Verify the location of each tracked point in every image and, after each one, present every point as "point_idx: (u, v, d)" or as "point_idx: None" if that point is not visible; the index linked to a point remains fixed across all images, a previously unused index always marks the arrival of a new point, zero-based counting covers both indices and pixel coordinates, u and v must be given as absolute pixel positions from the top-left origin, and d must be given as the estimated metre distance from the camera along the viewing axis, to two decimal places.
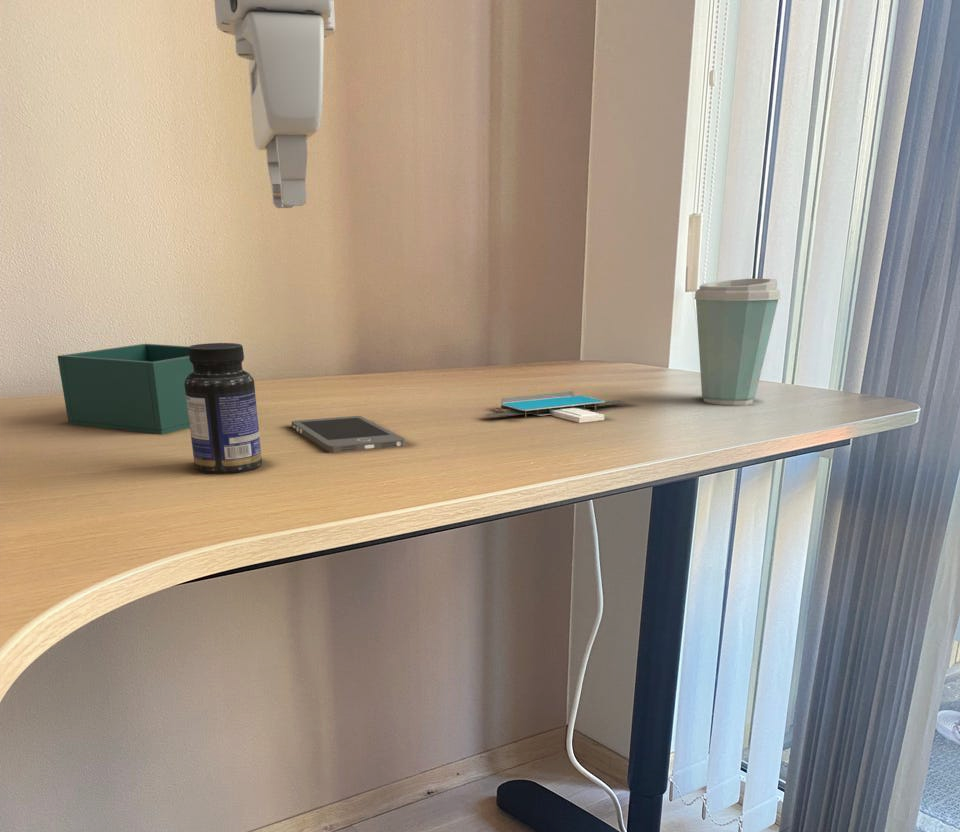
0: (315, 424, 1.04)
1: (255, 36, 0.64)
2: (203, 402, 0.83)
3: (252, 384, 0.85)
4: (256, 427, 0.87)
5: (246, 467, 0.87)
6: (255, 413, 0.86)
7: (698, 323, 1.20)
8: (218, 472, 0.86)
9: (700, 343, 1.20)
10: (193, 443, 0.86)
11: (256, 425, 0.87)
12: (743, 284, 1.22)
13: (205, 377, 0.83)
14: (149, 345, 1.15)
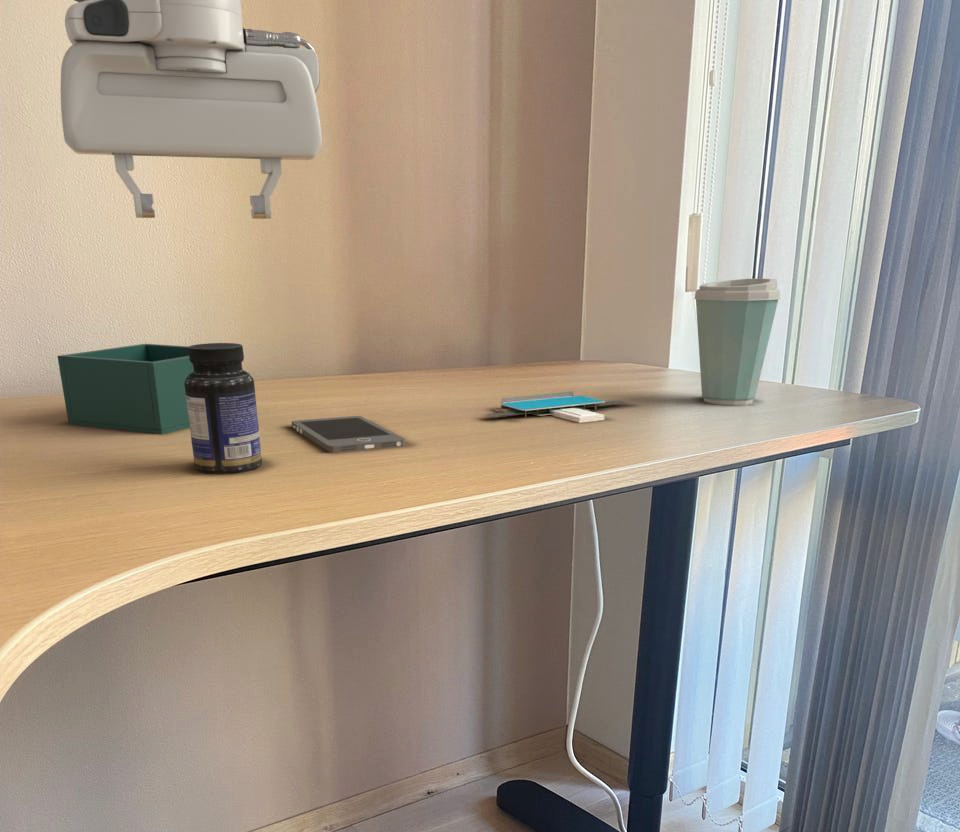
0: (315, 424, 1.04)
1: None
2: (203, 402, 0.83)
3: (252, 384, 0.85)
4: (256, 427, 0.87)
5: (246, 467, 0.87)
6: (255, 413, 0.86)
7: (698, 323, 1.20)
8: (218, 472, 0.86)
9: (700, 343, 1.20)
10: (193, 443, 0.86)
11: (256, 425, 0.87)
12: (743, 284, 1.22)
13: (205, 377, 0.83)
14: (149, 345, 1.15)
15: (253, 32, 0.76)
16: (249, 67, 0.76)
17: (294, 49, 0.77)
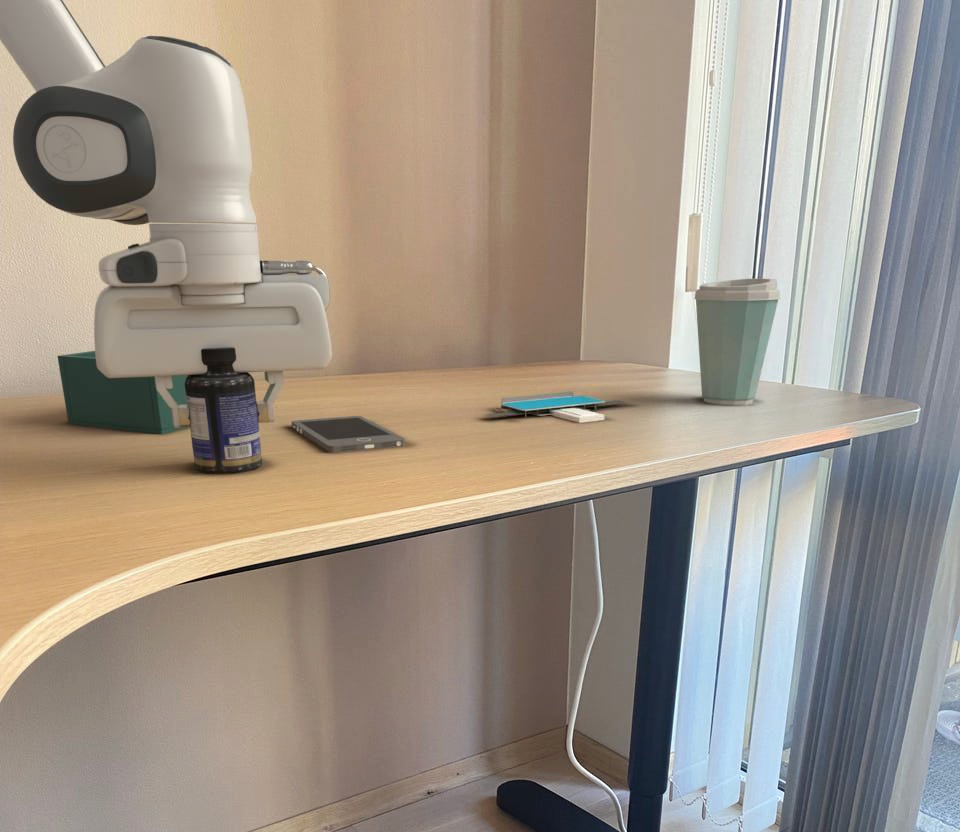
0: (315, 424, 1.04)
1: None
2: (203, 402, 0.83)
3: (252, 384, 0.85)
4: (256, 427, 0.87)
5: (247, 467, 0.87)
6: (255, 413, 0.86)
7: (698, 323, 1.20)
8: (218, 472, 0.86)
9: (700, 343, 1.20)
10: (194, 443, 0.86)
11: (256, 425, 0.87)
12: (743, 284, 1.22)
13: (206, 377, 0.83)
14: None
15: (269, 264, 0.83)
16: (266, 297, 0.83)
17: (306, 275, 0.84)
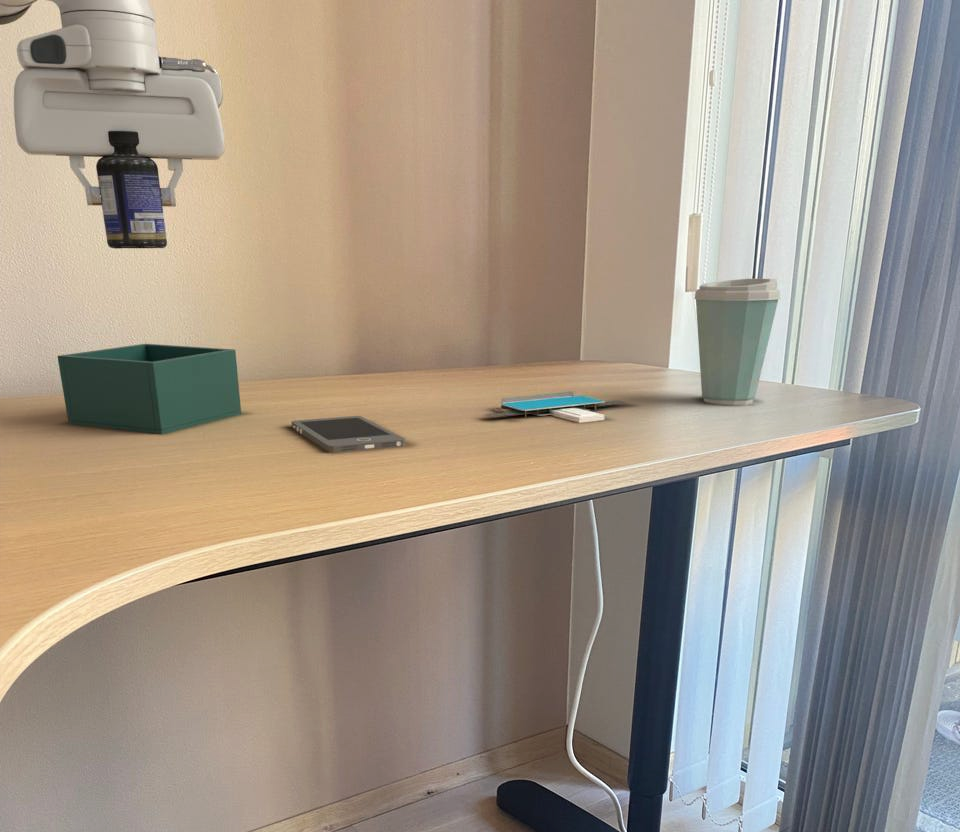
0: (315, 424, 1.04)
1: None
2: (111, 178, 0.97)
3: (155, 168, 0.99)
4: (159, 208, 1.01)
5: (151, 242, 1.00)
6: (158, 195, 1.00)
7: (698, 323, 1.20)
8: (126, 245, 1.00)
9: (700, 343, 1.20)
10: (105, 220, 1.00)
11: (160, 206, 1.01)
12: (743, 284, 1.22)
13: (112, 157, 0.97)
14: (149, 345, 1.15)
15: (167, 59, 0.97)
16: (163, 87, 0.96)
17: (201, 72, 0.98)
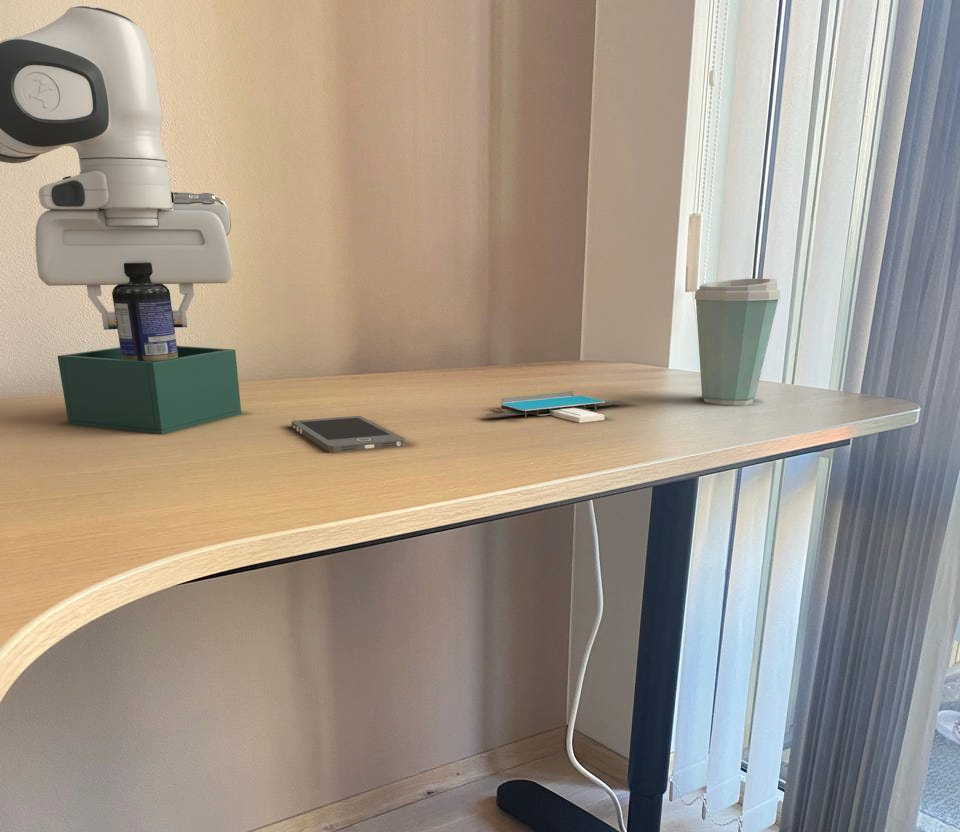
0: (315, 424, 1.04)
1: None
2: (126, 306, 1.03)
3: (167, 294, 1.05)
4: (172, 330, 1.07)
5: None
6: (171, 318, 1.06)
7: (698, 323, 1.20)
8: None
9: (700, 343, 1.20)
10: (120, 343, 1.06)
11: (172, 328, 1.07)
12: (743, 284, 1.22)
13: (128, 287, 1.03)
14: None
15: (179, 195, 1.03)
16: (175, 221, 1.02)
17: (210, 205, 1.04)
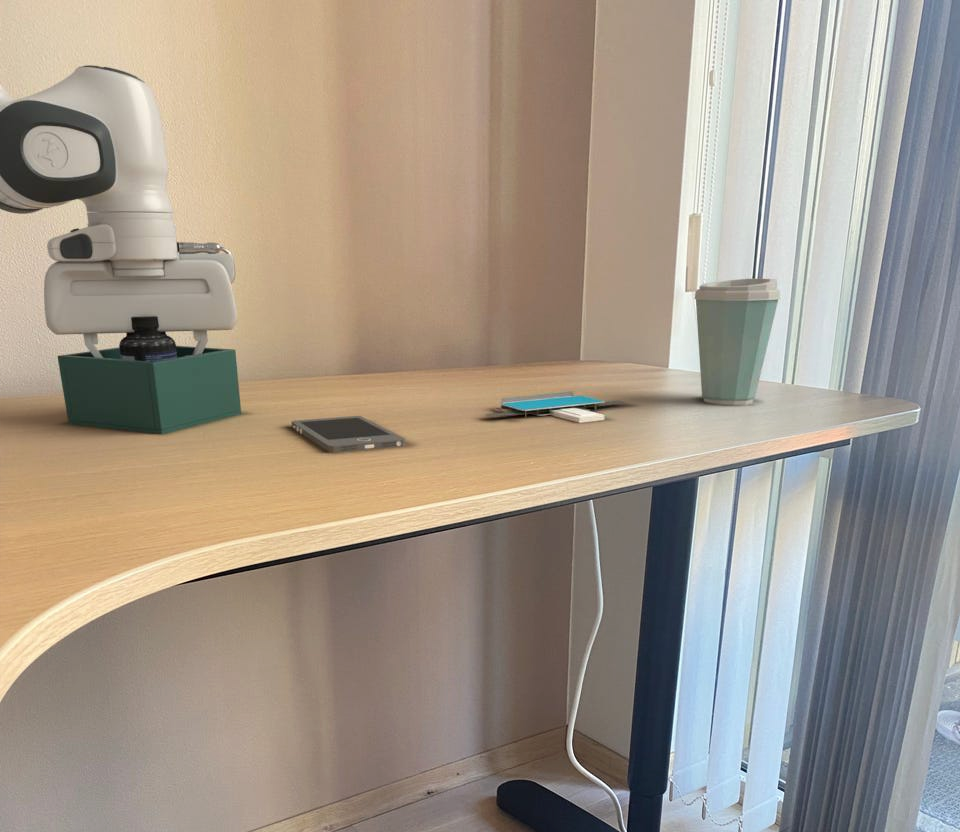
0: (315, 424, 1.04)
1: None
2: (133, 359, 1.05)
3: (173, 346, 1.07)
4: None
5: None
6: None
7: (698, 323, 1.20)
8: None
9: (700, 343, 1.20)
10: None
11: None
12: (743, 284, 1.22)
13: (135, 340, 1.05)
14: None
15: (184, 245, 1.05)
16: (181, 271, 1.04)
17: (215, 254, 1.06)
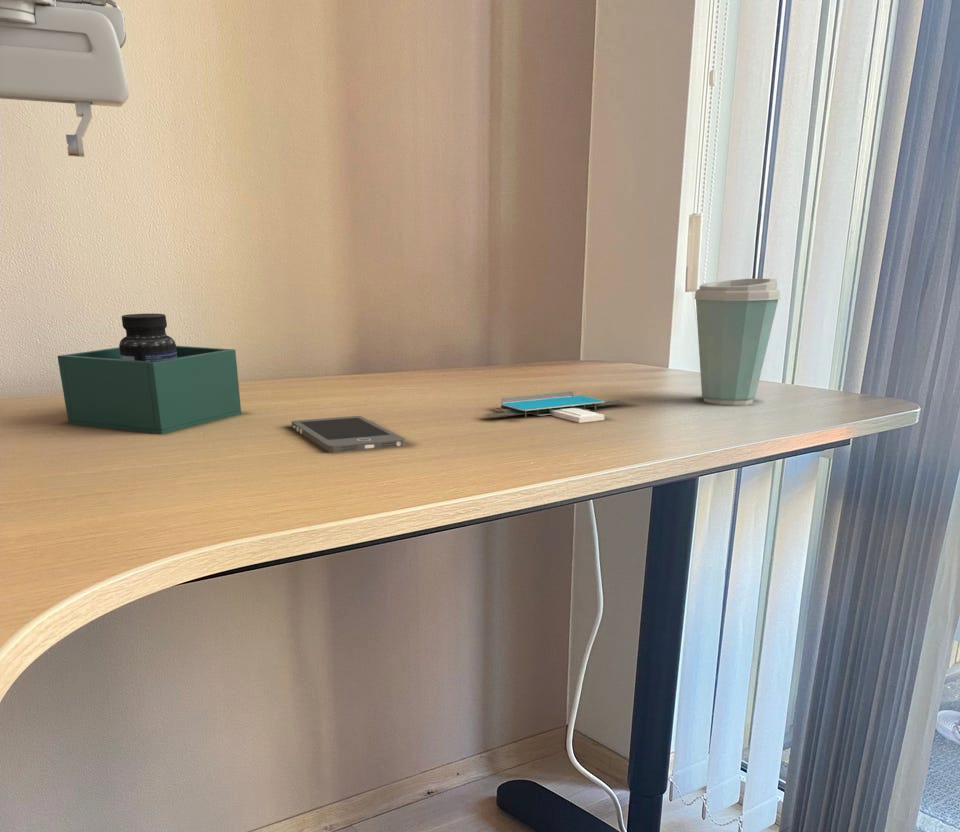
0: (315, 424, 1.04)
1: None
2: (133, 359, 1.05)
3: (173, 346, 1.07)
4: None
5: None
6: None
7: (698, 323, 1.20)
8: None
9: (700, 343, 1.20)
10: None
11: None
12: (743, 284, 1.22)
13: (135, 340, 1.05)
14: None
15: None
16: (56, 20, 0.87)
17: (100, 6, 0.89)
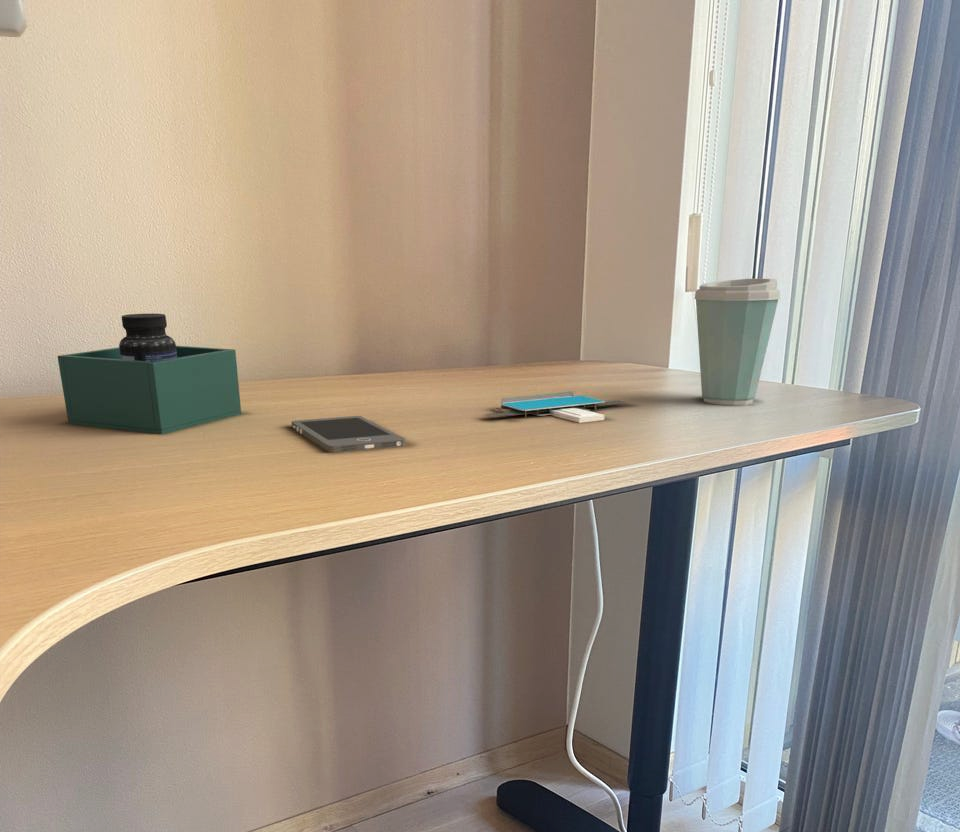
0: (315, 424, 1.04)
1: None
2: (133, 359, 1.05)
3: (173, 346, 1.07)
4: None
5: None
6: None
7: (698, 323, 1.20)
8: None
9: (700, 343, 1.20)
10: None
11: None
12: (743, 284, 1.22)
13: (135, 340, 1.05)
14: None
15: None
16: None
17: None
